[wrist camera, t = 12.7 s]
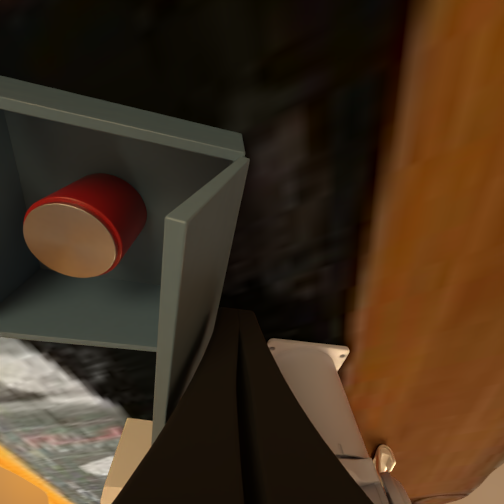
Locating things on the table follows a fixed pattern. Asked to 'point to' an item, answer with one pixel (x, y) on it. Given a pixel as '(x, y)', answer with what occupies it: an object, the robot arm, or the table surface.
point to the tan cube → (127, 456)
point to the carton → (72, 169)
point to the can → (85, 225)
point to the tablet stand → (383, 460)
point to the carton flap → (193, 283)
